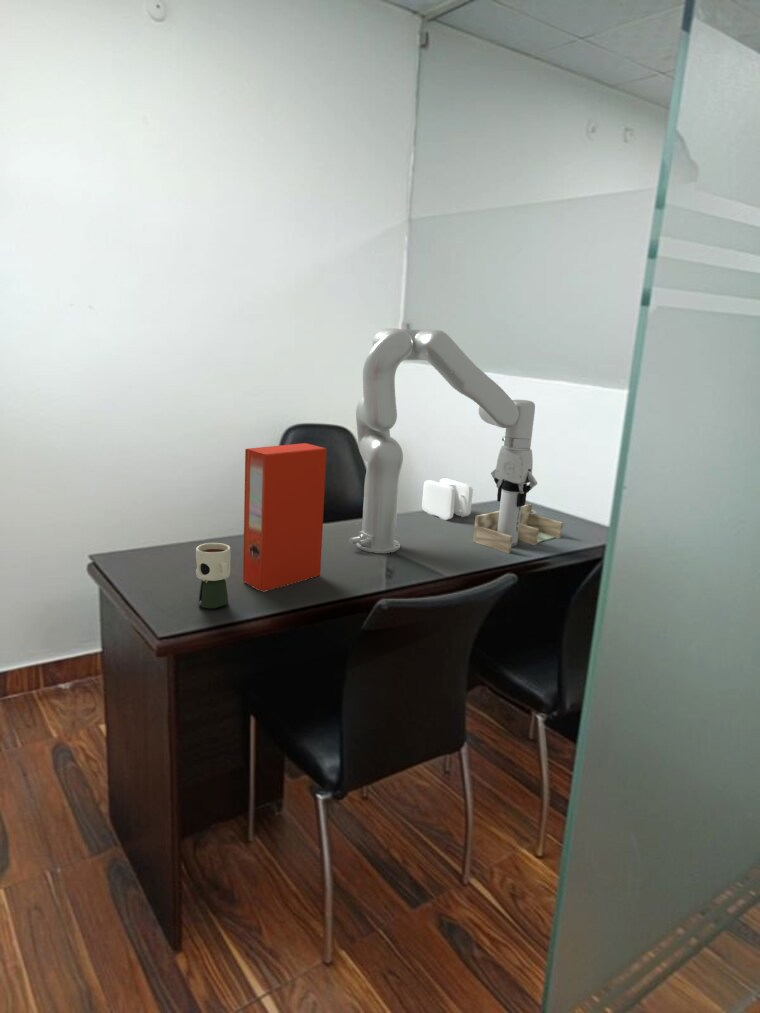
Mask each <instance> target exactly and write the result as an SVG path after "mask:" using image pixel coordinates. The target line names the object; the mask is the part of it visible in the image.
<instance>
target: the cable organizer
mask: <svg viewBox="0 0 760 1013" xmlns="http://www.w3.org/2000/svg"><path fill="white" fill-rule="evenodd" d="M422 490H423V491H422V499H421V500H422V502H421V508H422V510H423V511H424V512H425V513H426V514H427V515H431V516H435V517H438V518H439V519H440V520H442V521H443V520H444V521H448V520H450V519H452V518H453V517H454V514H455V515H456V516H457V517H458V516H459V517H460V516H461V517H460V518H465V517H467V516H469V515H471V512H472V503H473V502H472V501H473V487H472V486H471V485H470V484H469V483H465V482H461V481H458V480H455V479H451V478H447V477H446V478H445V477H444V478H441V479H439V482H438V481H436V480H432V479H427V480H425V481H424V482H423V487H422Z"/></svg>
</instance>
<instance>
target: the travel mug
mask: <svg viewBox="0 0 760 1013" xmlns="http://www.w3.org/2000/svg"><path fill="white" fill-rule="evenodd" d="M502 481H503V484H502V492H501V501H500V503H499V510H498V511H499V520H498V529H497V532H501V533H504V534H507V535H510V536H512V544H511V548H513V547H516V546H517V545H518V542H519V540H518V533H519V524H520V515H521V507H522V506H521V507H517V497H518V493H520V490H519V486H518V484H514V483H512V482H510V481H507V480H505V481H504V479H503V480H502Z"/></svg>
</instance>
